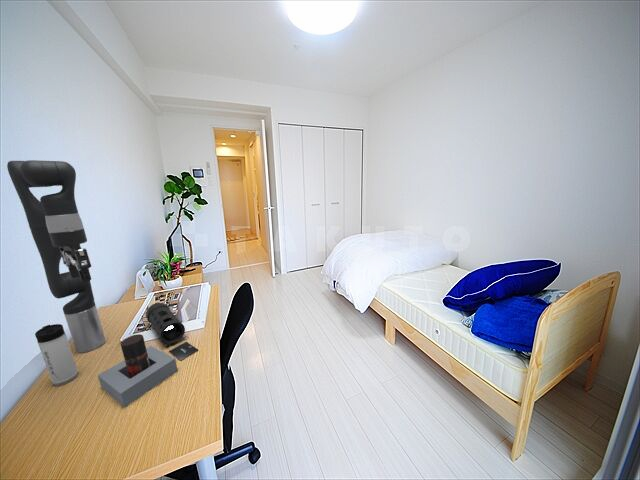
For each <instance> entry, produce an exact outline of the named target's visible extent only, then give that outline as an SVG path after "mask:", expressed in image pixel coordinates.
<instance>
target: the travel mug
mask: <svg viewBox="0 0 640 480" xmlns="http://www.w3.org/2000/svg"><path fill="white" fill-rule="evenodd" d="M34 335H35V339H36V340H37V344H38V348H39V350H40V354H41V355H42V358H43V361H44V364H45V367H46V369H47V370H46V371H47V372H48V375H49V378H50V380H51V384H52V386H54V387H59V386H64V385H66V384H68V383H71V382H72V381H73V380H75V379H76V378H77V377H78V376H79V370H78V367H77V365H76V361H75V359H74V356H73V353H72V349H71V347H70V346H71V345H70V343H69V340H68V337H67V335H66V332H65V328H64V326H63V324H60V323H56V324H47V325H44V326H42V327H41V328H40V329H38V330H37V331H35V333H34Z"/></svg>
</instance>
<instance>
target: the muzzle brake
mask: <svg viewBox="0 0 640 480" xmlns="http://www.w3.org/2000/svg"><path fill="white" fill-rule="evenodd" d="M145 318H146V320H147V321H148V323H149V324H150V325H151V327H152V328H153V329H154V332H155V333H156V334H157V336H158V337H159V339H160V341H161V342H162V343H164V344H165V345H175V344H178V341H180V340H181V339H183V337H184V335H185V332H186V327H185V325H184V324H183V322H182V321H180V319H179V318H178V317H177V316H176V314H175V313H173V311H172V310H171V308H170V307H169V305H167V304H166V303H164V302H155V303H153V304H151V305H150V306H149V307H148V308H147V310H146V311H145ZM170 325H173V326H174V328H173V329H171V330H168V331H164V330H165V329H166V328H167V327H168V326H170Z"/></svg>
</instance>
